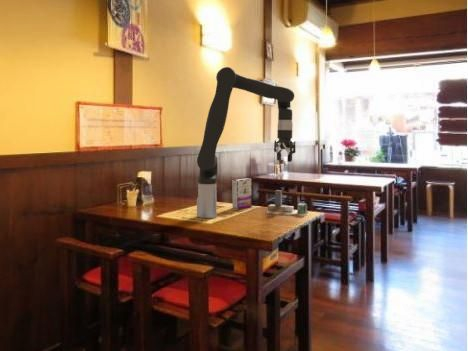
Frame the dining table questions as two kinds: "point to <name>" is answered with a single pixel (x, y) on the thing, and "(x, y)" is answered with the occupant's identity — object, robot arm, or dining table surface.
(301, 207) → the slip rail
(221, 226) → the dining table surface
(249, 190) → the candy bar box
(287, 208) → the gray t-shaped block
